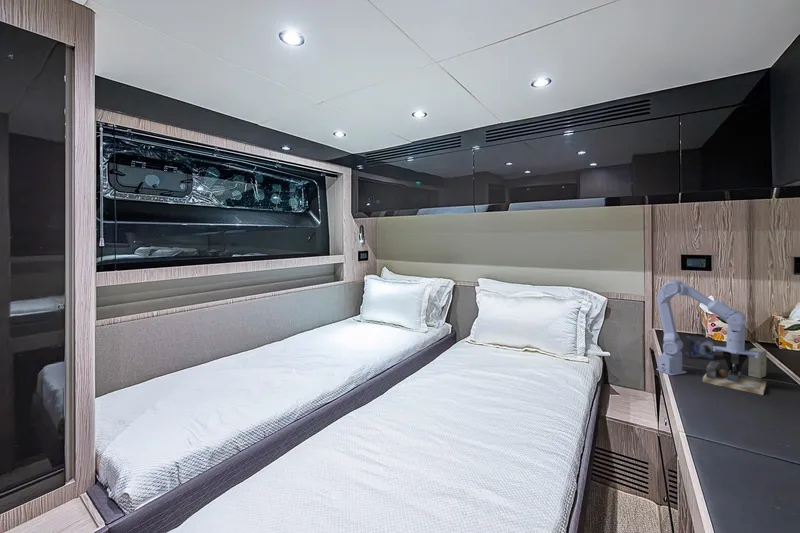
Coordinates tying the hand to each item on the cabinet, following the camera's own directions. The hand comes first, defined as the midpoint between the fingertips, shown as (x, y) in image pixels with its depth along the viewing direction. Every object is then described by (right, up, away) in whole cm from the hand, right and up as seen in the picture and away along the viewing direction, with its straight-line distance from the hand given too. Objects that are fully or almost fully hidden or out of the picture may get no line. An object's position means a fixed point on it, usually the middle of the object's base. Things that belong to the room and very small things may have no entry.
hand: (734, 370), depth 156 cm
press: (0, -6, +1) cm, 6 cm away
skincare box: (+18, -5, +8) cm, 20 cm away
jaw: (0, -4, 0) cm, 4 cm away
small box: (+13, -3, +33) cm, 36 cm away
